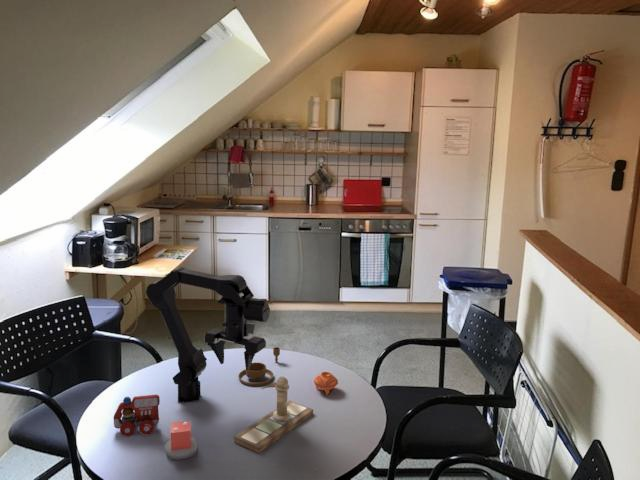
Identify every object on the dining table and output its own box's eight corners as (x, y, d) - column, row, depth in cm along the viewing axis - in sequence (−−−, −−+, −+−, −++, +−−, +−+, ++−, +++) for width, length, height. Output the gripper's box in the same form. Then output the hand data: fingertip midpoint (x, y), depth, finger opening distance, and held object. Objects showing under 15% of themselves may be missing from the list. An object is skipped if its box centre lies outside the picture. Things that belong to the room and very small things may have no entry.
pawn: (278, 423, 156) (279, 383, 153) (270, 415, 160) (270, 376, 157) (293, 418, 158) (294, 378, 156) (284, 411, 162) (285, 372, 160)
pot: (310, 394, 176) (311, 373, 176) (316, 389, 183) (318, 369, 183) (334, 397, 173) (335, 376, 174) (339, 392, 181) (341, 371, 181)
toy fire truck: (117, 424, 156) (115, 391, 154) (161, 421, 158) (160, 388, 156) (112, 438, 149) (110, 403, 147) (159, 434, 152) (158, 400, 150)
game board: (259, 453, 144) (259, 447, 144) (233, 441, 149) (233, 436, 149) (313, 413, 164) (313, 408, 164) (289, 404, 169) (289, 399, 169)
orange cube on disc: (165, 461, 140) (164, 435, 138) (166, 443, 147) (165, 418, 146) (197, 457, 142) (196, 431, 140) (196, 440, 149) (195, 415, 148)
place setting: (228, 374, 190) (228, 358, 189) (276, 360, 202) (277, 345, 201) (253, 394, 176) (253, 377, 175) (303, 378, 188) (304, 363, 187)
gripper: (275, 314, 166) (274, 362, 169) (223, 305, 173) (224, 351, 176) (256, 326, 156) (256, 377, 159) (202, 316, 163) (203, 364, 166)
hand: (234, 366), depth 165 cm, fingers open, 9 cm apart
